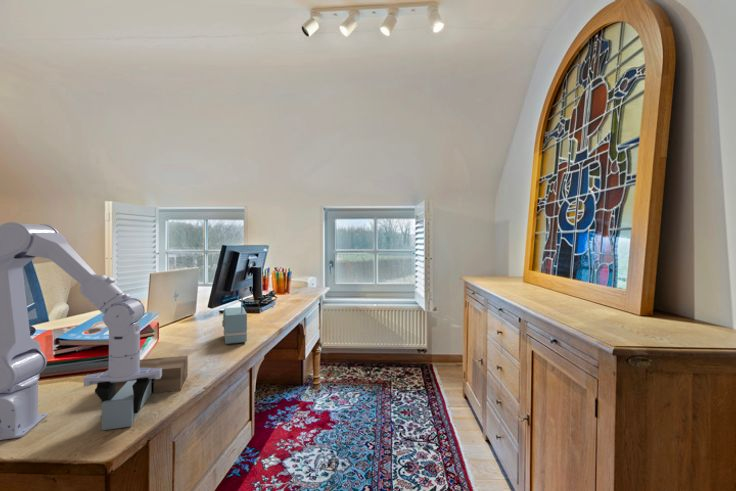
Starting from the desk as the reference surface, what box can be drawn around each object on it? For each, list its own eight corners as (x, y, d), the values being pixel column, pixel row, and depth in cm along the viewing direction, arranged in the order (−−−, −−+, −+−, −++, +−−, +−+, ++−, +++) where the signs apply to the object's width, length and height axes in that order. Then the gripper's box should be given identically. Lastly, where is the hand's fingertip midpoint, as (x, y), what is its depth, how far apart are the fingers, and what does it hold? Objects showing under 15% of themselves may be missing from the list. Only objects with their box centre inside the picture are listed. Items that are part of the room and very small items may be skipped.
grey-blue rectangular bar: (131, 426, 73) (131, 399, 73) (101, 430, 72) (101, 403, 72) (153, 392, 90) (153, 371, 89) (129, 395, 88) (129, 373, 88)
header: (180, 390, 92) (180, 367, 92) (101, 399, 86) (101, 374, 86) (187, 376, 101) (187, 355, 101) (116, 383, 96) (116, 361, 96)
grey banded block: (221, 336, 145) (221, 289, 145) (243, 333, 149) (243, 288, 149) (222, 346, 131) (222, 295, 130) (246, 343, 134) (247, 293, 134)
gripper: (165, 345, 83) (165, 400, 83) (93, 350, 78) (93, 409, 78) (157, 354, 76) (157, 414, 76) (78, 361, 71) (78, 425, 71)
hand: (124, 413), depth 77 cm, fingers closed on grey-blue rectangular bar, 4 cm apart
